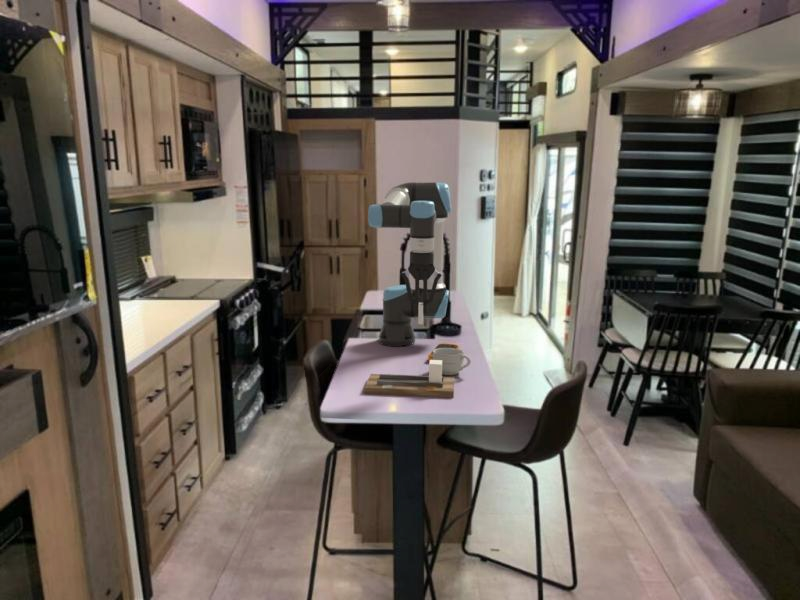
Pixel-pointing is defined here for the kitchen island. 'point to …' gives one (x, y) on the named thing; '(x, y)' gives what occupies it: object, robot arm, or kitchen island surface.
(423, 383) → the wooden slider track
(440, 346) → the multimeter
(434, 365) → the switch knob
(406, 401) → the kitchen island surface
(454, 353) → the teacup
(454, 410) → the kitchen island surface
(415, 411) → the kitchen island surface
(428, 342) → the kitchen island surface
